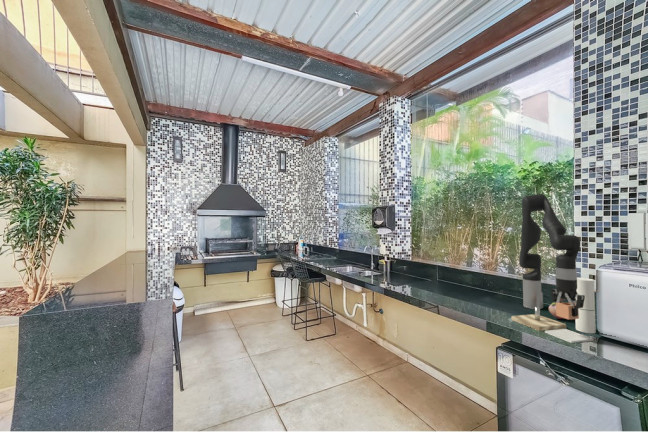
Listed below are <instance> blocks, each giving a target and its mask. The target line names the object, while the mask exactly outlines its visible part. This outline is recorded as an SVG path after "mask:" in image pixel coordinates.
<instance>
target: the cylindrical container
mask: <svg viewBox="0 0 648 432" xmlns="http://www.w3.org/2000/svg"><path fill="white" fill-rule="evenodd" d="M576 291H577V293H578V294H579V295H584V296H585V299H584V305H583V308H579V319H574V320H575V330H576V331H579V332H581V333H584V334H585V333H586V334H596V328H597V327H596V310H595V309H596V305H595V304H596V303H595V301H596V299H595V279H592V278H586V277H577V290H576ZM576 298H577V297H576ZM576 300H577V299H576Z"/></svg>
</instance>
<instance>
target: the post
mask: <svg viewBox="0 0 648 432" xmlns="http://www.w3.org/2000/svg"><path fill="white" fill-rule="evenodd" d="M534 314H535V320H537V321H540V316H541V309H540V308H539V307H535V309H534Z"/></svg>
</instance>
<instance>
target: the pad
mask: <svg viewBox="0 0 648 432" xmlns="http://www.w3.org/2000/svg"><path fill="white" fill-rule="evenodd" d="M544 333H546V334H547V335H551V336H553V337H555V338H558V339H561V340H563V341H566V342H567V343H569V344H570V343H571V344H574V343H585V342H593V341H594V338H593V337H590V336H587V335H584V334H580V333H578V332H576V331H572V330H569V329H568V328H566V329H556V330H546V331H544Z"/></svg>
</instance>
